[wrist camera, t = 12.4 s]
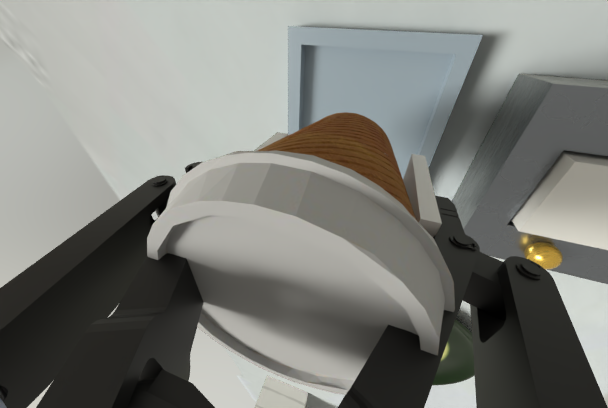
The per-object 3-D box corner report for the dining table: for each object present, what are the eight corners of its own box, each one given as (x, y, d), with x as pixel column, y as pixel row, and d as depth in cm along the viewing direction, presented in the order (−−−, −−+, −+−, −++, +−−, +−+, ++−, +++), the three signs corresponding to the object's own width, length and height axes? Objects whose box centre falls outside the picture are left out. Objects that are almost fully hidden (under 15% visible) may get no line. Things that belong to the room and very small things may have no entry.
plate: (442, 386, 47) (444, 401, 46) (313, 340, 54) (310, 351, 52) (520, 316, 31) (528, 335, 29) (320, 263, 38) (316, 275, 36)
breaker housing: (519, 73, 17) (570, 88, 12) (736, 90, 15) (920, 118, 10) (442, 218, 26) (454, 263, 21) (571, 246, 23) (620, 305, 18)
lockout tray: (294, 26, 20) (288, 26, 19) (477, 35, 17) (483, 34, 16) (292, 171, 29) (287, 176, 28) (413, 195, 26) (414, 202, 24)
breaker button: (535, 133, 19) (575, 161, 14) (628, 145, 17) (703, 180, 13) (495, 194, 22) (518, 231, 18) (570, 208, 21) (614, 251, 17)
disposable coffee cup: (454, 165, 14) (568, 411, 5) (342, 232, 20) (295, 401, 11) (347, 41, 12) (193, 45, 3) (258, 154, 18) (113, 274, 9)
